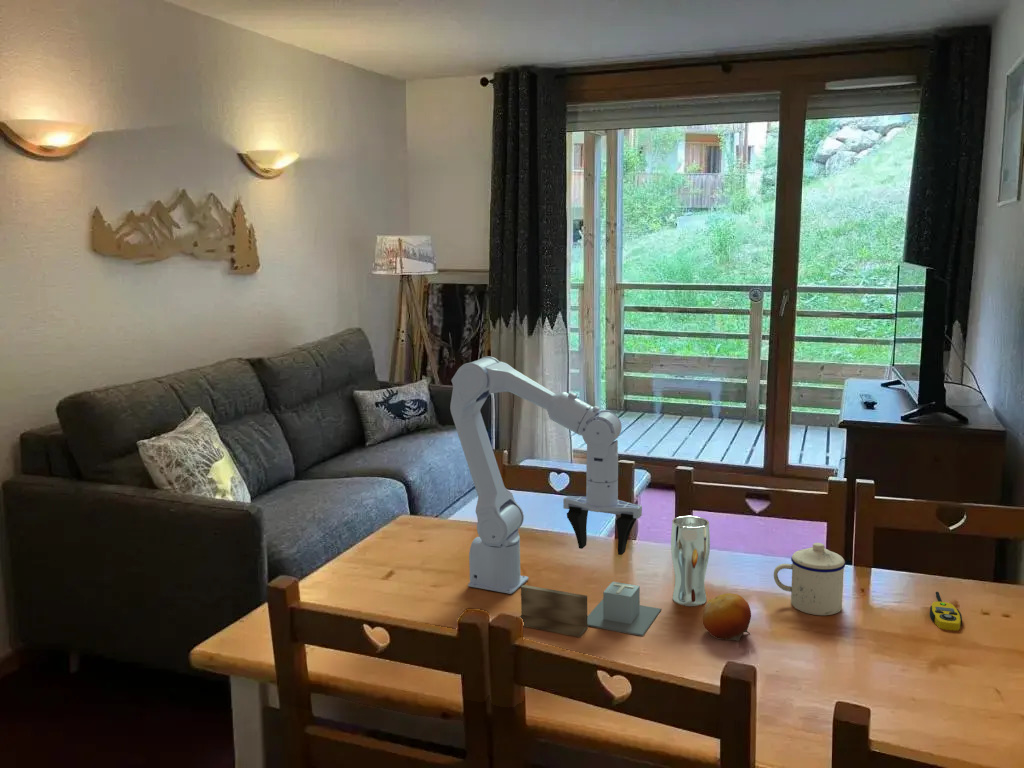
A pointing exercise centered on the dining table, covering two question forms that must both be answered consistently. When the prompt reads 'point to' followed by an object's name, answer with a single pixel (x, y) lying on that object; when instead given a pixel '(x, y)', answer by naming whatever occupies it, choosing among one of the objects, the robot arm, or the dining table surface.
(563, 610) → the screen
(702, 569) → the beer glass
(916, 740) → the dining table surface
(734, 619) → the fruit
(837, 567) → the teacup with lid
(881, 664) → the dining table surface
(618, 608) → the letter block
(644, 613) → the mat
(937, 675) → the dining table surface
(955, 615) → the yellow walkie talkie
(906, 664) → the dining table surface
